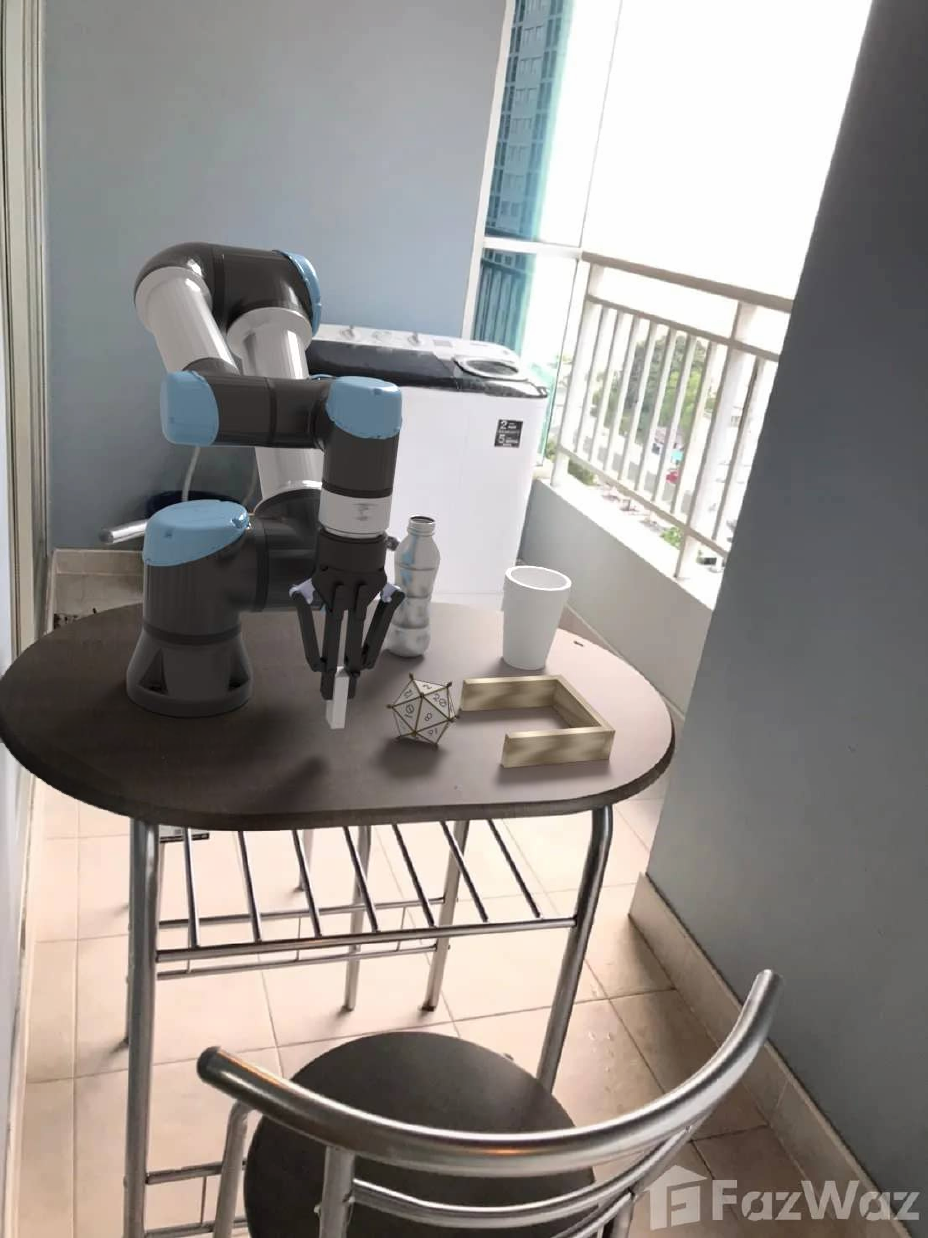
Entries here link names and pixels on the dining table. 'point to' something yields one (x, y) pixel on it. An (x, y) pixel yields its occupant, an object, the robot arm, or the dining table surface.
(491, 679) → the corral
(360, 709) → the dining table surface
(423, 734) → the game die
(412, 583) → the plastic bottle
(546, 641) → the foam cup
